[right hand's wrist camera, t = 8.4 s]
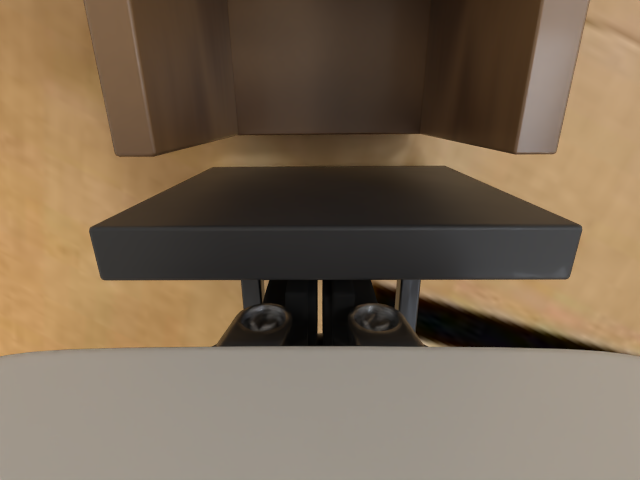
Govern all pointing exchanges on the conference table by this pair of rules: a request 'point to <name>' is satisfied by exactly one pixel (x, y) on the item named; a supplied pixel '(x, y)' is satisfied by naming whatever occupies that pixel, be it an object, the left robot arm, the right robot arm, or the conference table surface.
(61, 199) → the conference table surface
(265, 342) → the right robot arm
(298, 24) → the drawer
